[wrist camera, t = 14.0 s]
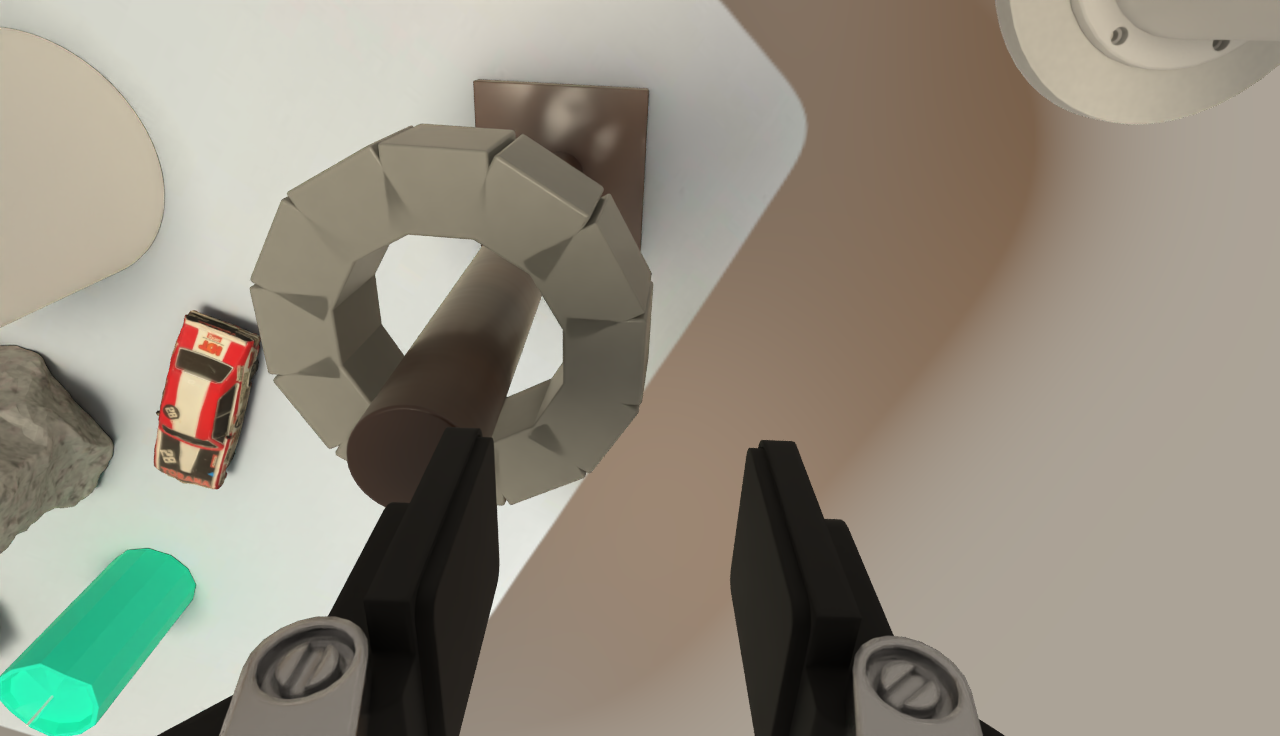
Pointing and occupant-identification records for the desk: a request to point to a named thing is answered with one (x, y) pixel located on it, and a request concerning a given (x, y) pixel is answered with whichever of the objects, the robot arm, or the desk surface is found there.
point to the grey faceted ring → (499, 220)
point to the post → (495, 287)
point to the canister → (67, 177)
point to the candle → (97, 643)
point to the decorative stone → (42, 444)
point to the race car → (205, 400)
